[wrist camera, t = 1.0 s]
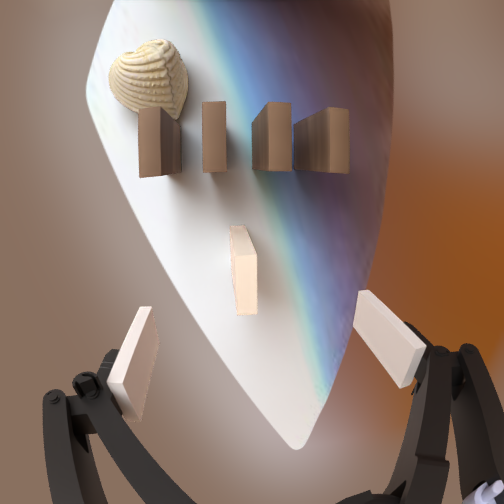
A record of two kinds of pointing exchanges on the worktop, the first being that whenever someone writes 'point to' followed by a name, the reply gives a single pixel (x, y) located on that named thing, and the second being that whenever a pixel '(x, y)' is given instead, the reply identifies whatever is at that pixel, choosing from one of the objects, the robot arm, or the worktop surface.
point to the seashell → (150, 78)
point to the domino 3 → (243, 270)
